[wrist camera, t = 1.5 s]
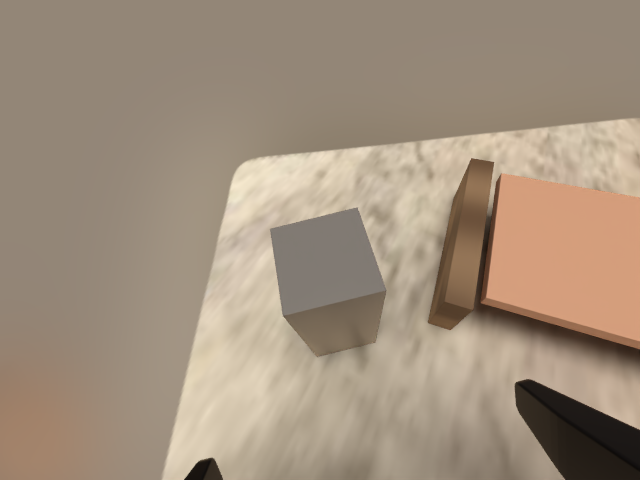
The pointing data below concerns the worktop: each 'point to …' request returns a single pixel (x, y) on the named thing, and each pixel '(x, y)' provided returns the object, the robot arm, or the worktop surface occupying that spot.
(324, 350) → the gray rectangular block
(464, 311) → the brown bracket
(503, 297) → the trapdoor
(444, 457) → the worktop surface
